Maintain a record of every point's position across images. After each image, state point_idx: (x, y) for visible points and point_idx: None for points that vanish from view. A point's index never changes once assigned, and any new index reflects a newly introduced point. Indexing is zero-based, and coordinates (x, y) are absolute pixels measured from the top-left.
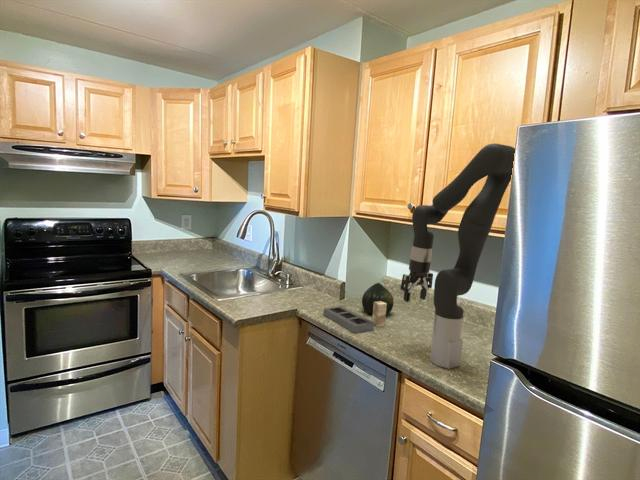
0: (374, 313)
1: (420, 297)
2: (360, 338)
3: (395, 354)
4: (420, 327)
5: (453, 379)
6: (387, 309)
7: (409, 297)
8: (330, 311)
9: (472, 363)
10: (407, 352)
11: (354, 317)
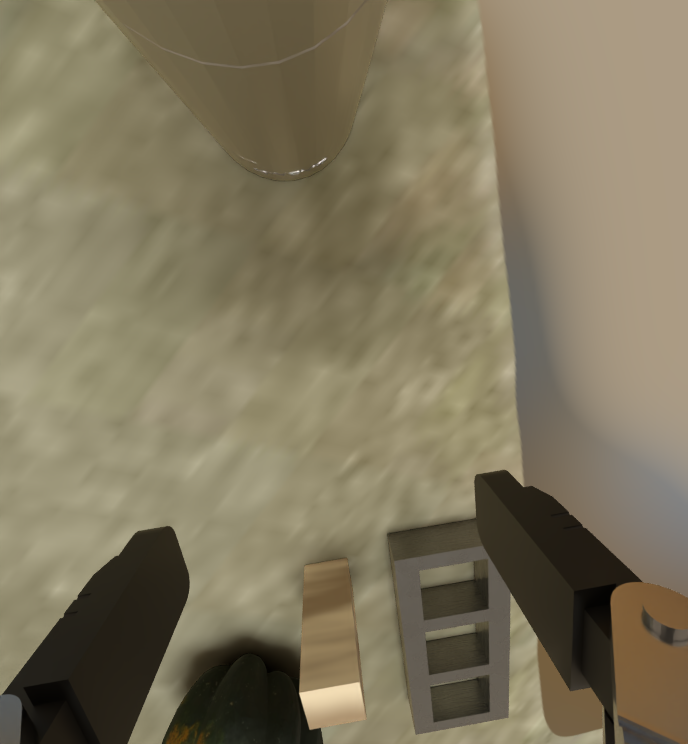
0: (356, 635)
1: (183, 587)
2: (505, 467)
3: (470, 273)
4: (129, 518)
5: None
6: (229, 682)
7: (523, 513)
8: (501, 691)
9: (97, 5)
10: (396, 275)
11: (443, 627)
